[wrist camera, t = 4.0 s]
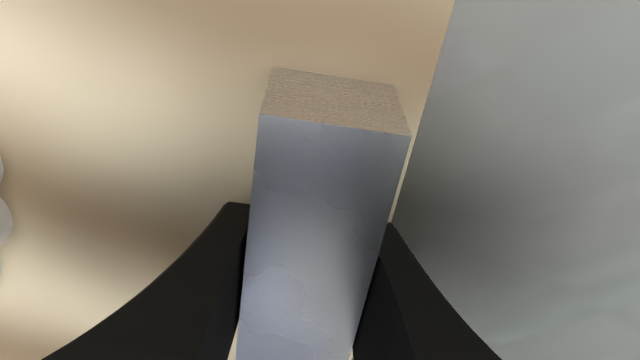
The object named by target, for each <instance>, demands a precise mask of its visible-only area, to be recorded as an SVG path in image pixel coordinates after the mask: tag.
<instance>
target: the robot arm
mask: <svg viewBox="0 0 640 360" xmlns="http://www.w3.org/2000/svg"><path fill="white" fill-rule="evenodd" d="M249 212H250V204H244V203H237V202H227V203H226V204H224V205H223V207H222V208H221V209H220V211H219V212H218V213H217V215H216V216H215V217H214V219H213V220H212V221H211V222H210V224H209V225H208V226H207V227H206V228H205V229H204V231H203V232H202V233H201V234H200V235H199V236H198V237H197V238H196V239H195V240H194V242H193V243H192V244H191V245H190V246H189V247H188V248H187V249H186V250H185V251H184V252H183V253H182V254H181V255H180V256H179V257H178V258H177V259H176V260H175V261H174V262H173V263H172V264H171V265H170V266H169V267H168V268H167V269H166V270H164V271H163V272H162V273H161V274H160V275H159V276H158V277H157V278H156V279H155V280H154V281H153V282H151V283H150V284H149V285H148V286H147V287H146V288H144V289H143V290H142V291H141V292H140V293H138V294H137V295H136V296H135V297H133V298H132V299H131V300H129V301H128V302H127V303H126V304H124V305H123V306H122V307H120V308H119V309H118V310H116V311H115V312H114V313H112V314H111V315H109V316H108V317H107V318H105V319H104V320H102V321H101V322H100V323H98V324H97V325H95V326H94V327H92V328H91V329H90V330H88V331H87V332H85V333H84V334H82V335H81V336H79V337H77V338H76V339H74V340H73V341H71V342H70V343H68V344H66V345H65V346H63V347H61V348H60V349H58V350H56V351H54V352H53V353H51V354H49V355H48V356H46V357H44V358H43V359H41V360H227V359H228V356H229V352H230V349H231V346H232V342H233V339H234V335H235V332H236V329H237V325H238V322H239V315H240V305H241V294H242V284H243V274H244V263H245V253H246V243H247V233H248V222H249ZM352 349H353V358H354V360H502V359H501V358H499V357H498V356H497V355H496V354H495V353H494V352H493V351H492V350H491V349H490V348H489V347H488V345H487V344H486V343H485V342H484V341H483V340H482V339H481V338H480V337H479V336H478V335H477V334H476V333H475V332H474V331H473V330H472V329H471V328H470V327H469V326H468V325H467V323H466V322H465V321H464V320H463V319H462V318H461V317H460V315H459V314H458V313H457V312H456V311H455V310H454V308H453V307H452V306H451V305H450V304H449V302H448V301H447V300H446V299H445V298H444V296H443V295H442V294H441V292H440V291H439V290H438V289H437V287H436V286H435V285H434V283H433V282H432V280H431V279H430V278H429V276H428V275H427V274H426V272H425V271H424V270H423V268H422V267H421V265H420V264H419V263H418V261H417V260H416V258H415V257H414V255H413V254H412V252H411V251H410V249H409V248H408V246H407V245H406V243H405V242H404V240H403V239H402V237H401V236H400V234H399V233H398V231H397V230H396V228H395V227H394V226H393V224H392V223H390V222H388V223H387V226H386V230H385V233H384V237H383V240H382V244H381V247H380V251H379V254H378V258H377V261H376V265H375V268H374V272H373V276H372V279H371V283H370V286H369V290H368V293H367V297H366V300H365V304H364V307H363V311H362V314H361V318H360V321H359V325H358V328H357V332H356V335H355V339H354V342H353V346H352Z"/></svg>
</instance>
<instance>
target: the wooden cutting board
mask: <svg viewBox="0 0 640 360" xmlns="http://www.w3.org/2000/svg"><path fill="white" fill-rule="evenodd" d="M454 3H455V0H0V156H1V158H2V162H3V167H4V174H3V179H2V181H1V183H0V197H1V198H2V200H3V201H4V202H5V203H6V205H7V206H8V208H9V210H10V212H11V215H12V218H13V228H12V231H11V234H10V235H9V237H8V238H7V239H6V240H5V241H4V242H3V243H2V244H1V245H0V258H1V263H2V269H1V272H0V360H41V359H43V358H44V357H46V356H48V355H49V354H51V353H53V352H54V351H56V350H58V349H60V348H61V347H63V346H65V345H66V344H68V343H70V342H71V341H73V340H74V339H76V338H77V337H79V336H81V335H82V334H84V333H85V332H87V331H88V330H90V329H91V328H92V327H94V326H95V325H97V324H98V323H100V322H101V321H102V320H104V319H105V318H107V317H108V316H109V315H111V314H112V313H114V312H115V311H116V310H118V309H119V308H120V307H122V306H123V305H124V304H126V303H127V302H128V301H129V300H131V299H132V298H133V297H135V296H136V295H137V294H138V293H140V292H141V291H142V290H143V289H144V288H146V287H147V286H148V285H149V284H150V283H151V282H153V281H154V280H155V279H156V278H157V277H158V276H159V275H160V274H161V273H162V272H163V271H164V270H166V269H167V268H168V267H169V266H170V265H171V264H172V263H173V262H174V261H175V260H176V259H177V258H178V257H179V256H180V255H181V254H182V253H183V252H184V251H185V250H186V249H187V248H188V247H189V246H190V245H191V244H192V243H193V242H194V240H195V239H196V238H197V237H198V236H199V235H200V234H201V233H202V232H203V231H204V229H205V228H206V227H207V226H208V225H209V224H210V222H211V221H212V220H213V219H214V217H215V216H216V215H217V213H218V212H219V211H220V209H221V208H222V207H223V205H224V204H226V203H227V202H237V203H244V204H250V212H249V222H248V233H247V243H246V253H245V263H244V274H243V284H242V294H241V305H240V315H239V322H238V325H237V329H236V332H235V335H234V339H233V342H232V346H231V349H230V352H229V356H228V359H227V360H352V356H353V349H352V346H353V342H354V339H355V335H356V332H357V328H358V325H359V321H360V318H361V314H362V311H363V307H364V304H365V300H366V297H367V293H368V290H369V286H370V283H371V279H372V276H373V272H374V268H375V265H376V261H377V258H378V254H379V251H380V247H381V244H382V240H383V237H384V233H385V230H386V226H387V223H388V222H390V223H391V221H392V218H393V214H394V211H395V208H396V204H397V201H398V197H399V194H400V190H401V187H402V183H403V180H404V176H405V173H406V169H407V166H408V162H409V159H410V156H411V152H412V149H413V145H414V142H415V138H416V135H417V131H418V128H419V124H420V121H421V117H422V114H423V111H424V107H425V104H426V100H427V97H428V93H429V90H430V86H431V83H432V79H433V76H434V72H435V69H436V66H437V62H438V59H439V55H440V52H441V48H442V45H443V41H444V38H445V34H446V31H447V27H448V24H449V20H450V17H451V14H452V10H453V7H454Z"/></svg>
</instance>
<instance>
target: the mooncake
mask: <svg viewBox="0 0 640 360" xmlns="http://www.w3.org/2000/svg"><path fill="white" fill-rule="evenodd" d="M3 174H4V167H3V162H2V158H1V156H0V183H1V181H2V179H3ZM12 228H13V218H12V215H11V212H10V210H9V208H8V206H7V205H6V203H5V202H4V201H3V200H2V198H1V197H0V245H1V244H2V243H3V242H4V241H5V240H6V239H7V238H8V237H9V235H10V234H11V231H12ZM1 269H2V263H1V258H0V272H1Z"/></svg>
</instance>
